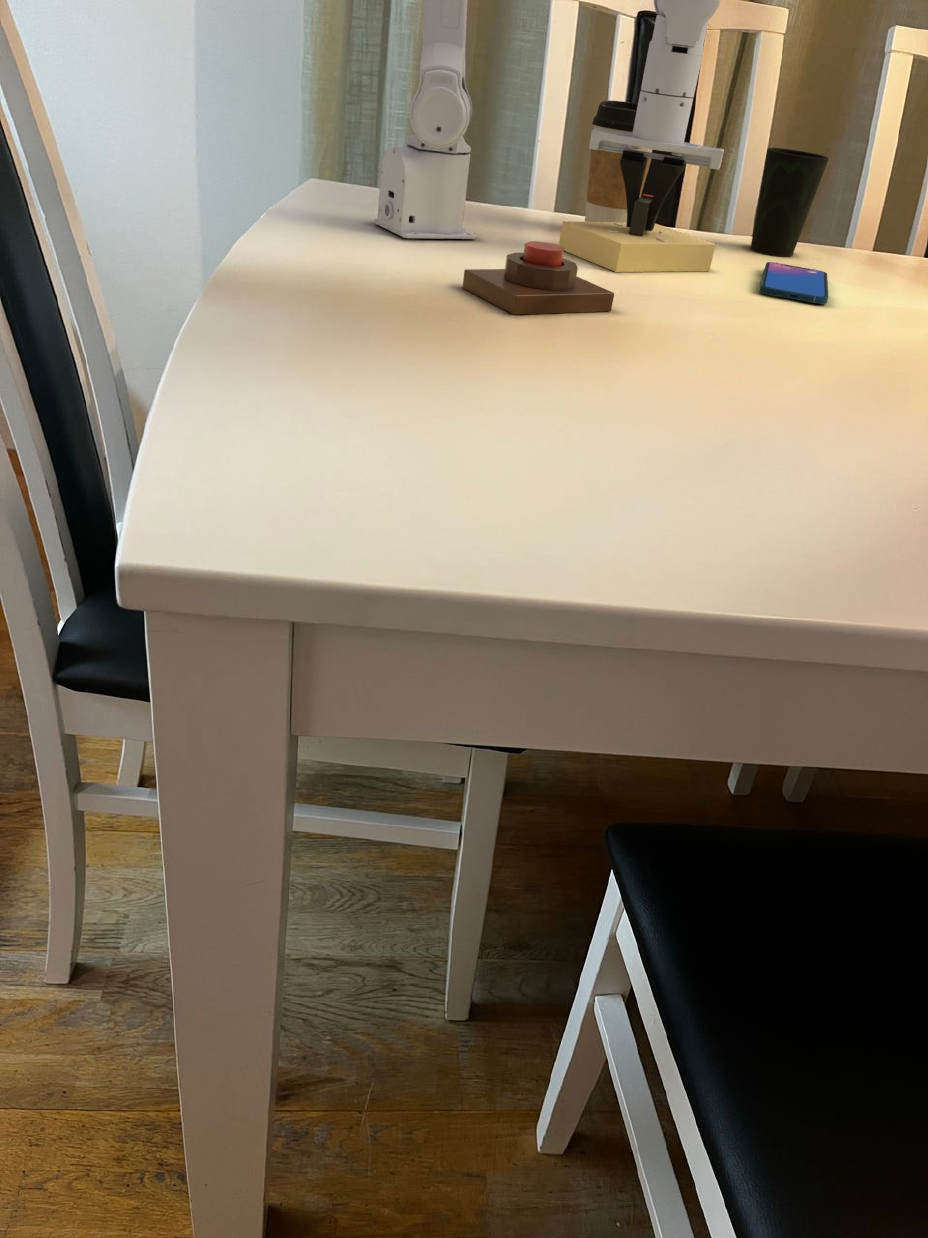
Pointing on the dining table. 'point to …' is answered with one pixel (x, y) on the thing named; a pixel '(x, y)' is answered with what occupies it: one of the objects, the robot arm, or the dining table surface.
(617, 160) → the coffee cup
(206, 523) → the dining table surface
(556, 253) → the button
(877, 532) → the dining table surface
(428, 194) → the robot arm
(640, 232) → the dark grey rectangular block
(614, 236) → the panel
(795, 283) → the smartphone
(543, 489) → the dining table surface
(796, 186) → the cup
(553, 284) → the button block
